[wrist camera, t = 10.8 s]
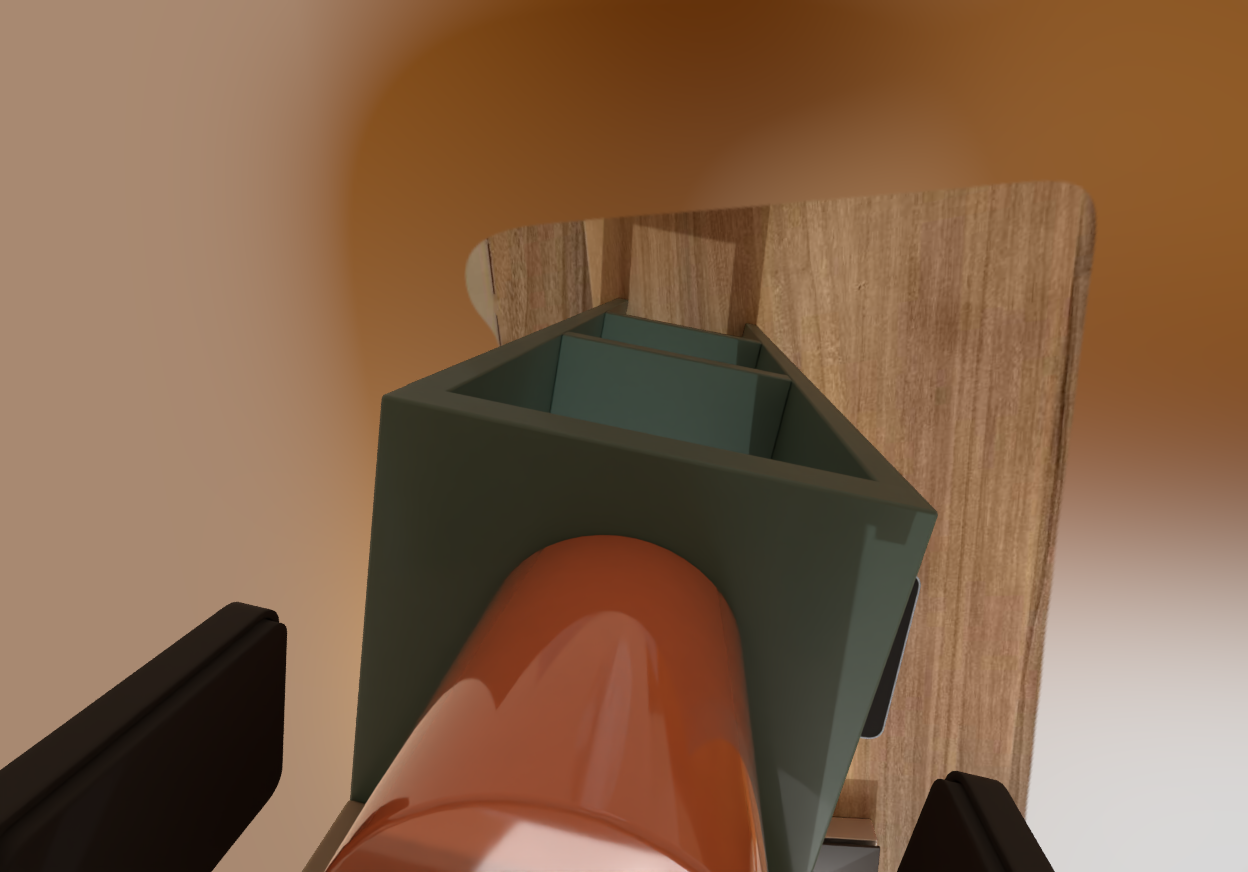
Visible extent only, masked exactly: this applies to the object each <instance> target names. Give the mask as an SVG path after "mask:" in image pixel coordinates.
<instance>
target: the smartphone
mask: <svg viewBox="0 0 1248 872" xmlns="http://www.w3.org/2000/svg"><path fill="white" fill-rule="evenodd" d="M919 591H920V580H919V578H918V577H917V576H916V579H915V582H914V585H913V588H912V591H911V593H910V596H909V599H908V602H907V605H906V608H905V610H904V613H903V616H902V619H901V622H900V625H899V628H898V630H897V633H896V636H895V639H894V642H893V645H892V648H891V650H890V653H889V656H888V659H887V662H886V665H885V667H884V670H883V673H882V676H881V679H880V682H879V685H878V687H877V690H876V693H875V696H874V699H873V702H872V705H871V707H870V710H869V713H868V716H867V719H866V722H865V724H864V727H863V730H862V733H861V736H860V738H865V739H873V738H876V737H878V736H880V735H881V734H882V732H883V730H884V727H885V724H886V720H887V716H888V712H889V708H890V704H891V700H892V696H893V692H894V688H895V685H896V681H897V677H898V673H899V669H900V665H901V661H902V657H903V653H904V649H905V646H906V642H907V638H908V634H909V630H910V626H911V622H912V618H913V614H914V610H915V607H916V603H917V599H918V595H919Z"/></svg>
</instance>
